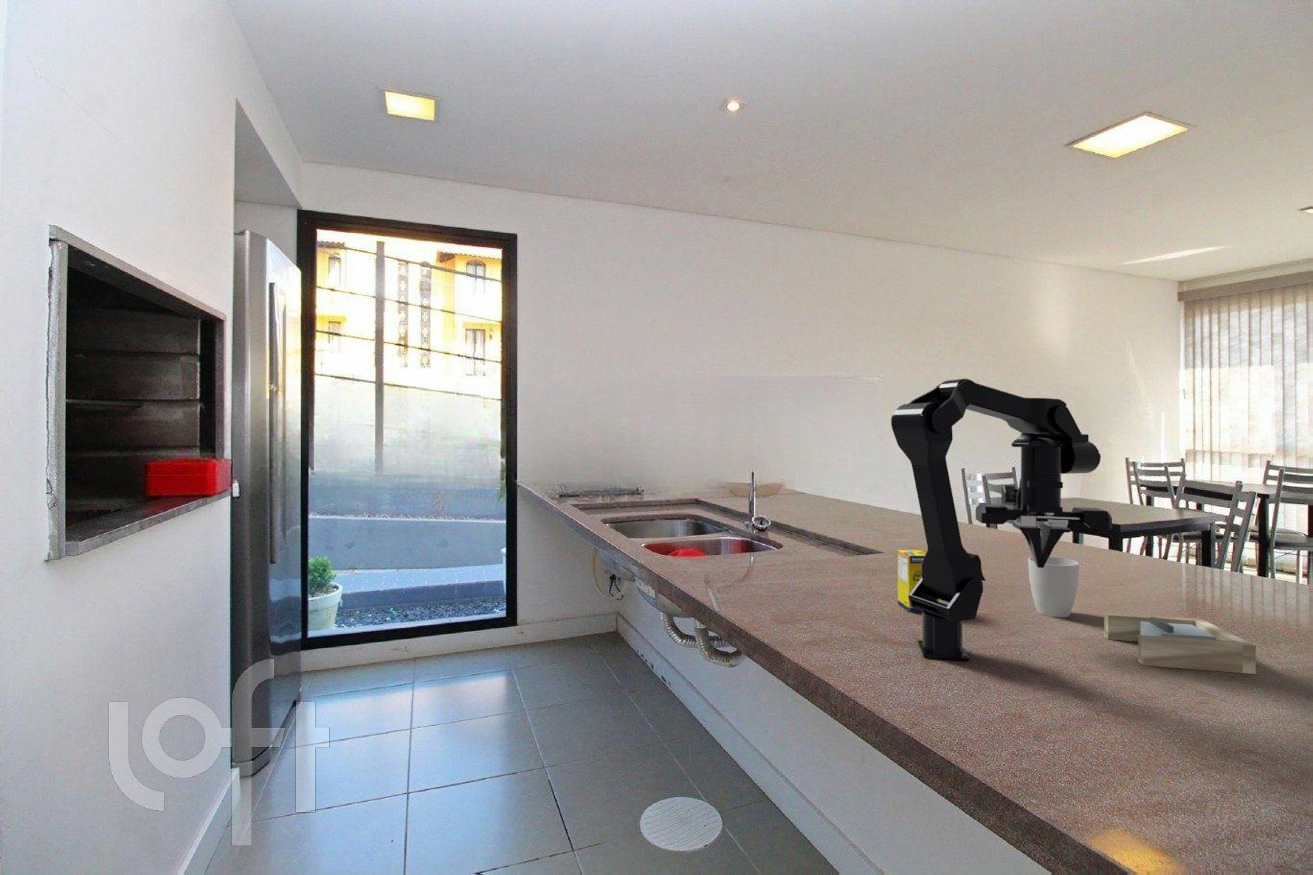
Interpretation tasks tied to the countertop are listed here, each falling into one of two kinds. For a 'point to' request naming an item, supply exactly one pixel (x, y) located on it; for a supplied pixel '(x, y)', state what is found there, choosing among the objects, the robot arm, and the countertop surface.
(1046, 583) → the cup
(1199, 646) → the tray
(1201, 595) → the countertop surface
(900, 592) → the supplement box
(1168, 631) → the sliding lid
